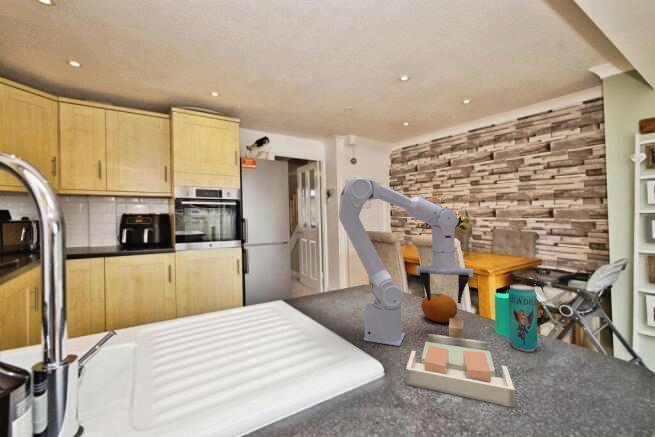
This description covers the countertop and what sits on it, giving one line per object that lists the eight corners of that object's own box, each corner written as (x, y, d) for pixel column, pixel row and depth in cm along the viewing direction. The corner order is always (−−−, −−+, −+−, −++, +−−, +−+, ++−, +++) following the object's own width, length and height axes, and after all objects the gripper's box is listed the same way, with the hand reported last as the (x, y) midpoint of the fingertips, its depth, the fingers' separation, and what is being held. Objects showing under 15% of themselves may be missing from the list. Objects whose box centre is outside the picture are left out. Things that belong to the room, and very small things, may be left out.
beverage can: (511, 350, 70) (510, 288, 70) (507, 341, 75) (506, 283, 75) (540, 355, 67) (539, 290, 67) (534, 345, 72) (533, 285, 72)
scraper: (428, 348, 72) (427, 326, 72) (430, 335, 79) (430, 315, 79) (487, 357, 66) (487, 333, 66) (484, 343, 74) (483, 322, 74)
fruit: (464, 325, 86) (464, 298, 86) (432, 327, 85) (431, 300, 85) (444, 313, 97) (444, 290, 97) (415, 315, 95) (415, 291, 95)
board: (421, 365, 63) (421, 358, 63) (425, 347, 72) (425, 341, 72) (495, 379, 57) (495, 371, 57) (490, 358, 66) (489, 351, 66)
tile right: (467, 380, 56) (467, 369, 56) (463, 360, 61) (463, 350, 60) (490, 382, 55) (491, 371, 54) (484, 362, 60) (484, 352, 59)
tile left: (424, 371, 60) (424, 361, 59) (429, 354, 64) (428, 345, 63) (445, 376, 58) (445, 366, 57) (448, 359, 62) (448, 349, 61)
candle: (524, 338, 76) (524, 293, 76) (500, 336, 78) (499, 292, 78) (514, 329, 82) (514, 287, 82) (491, 328, 83) (491, 287, 83)
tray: (406, 384, 56) (405, 368, 56) (412, 364, 64) (412, 350, 64) (515, 407, 49) (514, 390, 49) (506, 381, 56) (506, 366, 56)
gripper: (414, 252, 79) (414, 302, 78) (473, 254, 73) (474, 308, 73) (417, 249, 85) (417, 295, 85) (472, 251, 79) (472, 300, 79)
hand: (444, 301), depth 79 cm, fingers open, 7 cm apart
